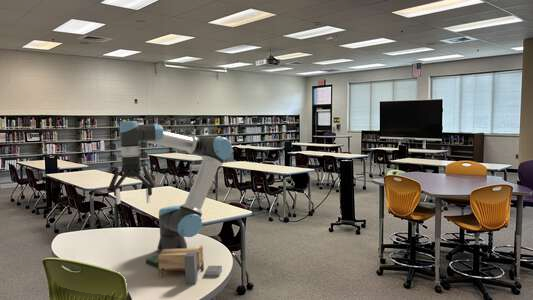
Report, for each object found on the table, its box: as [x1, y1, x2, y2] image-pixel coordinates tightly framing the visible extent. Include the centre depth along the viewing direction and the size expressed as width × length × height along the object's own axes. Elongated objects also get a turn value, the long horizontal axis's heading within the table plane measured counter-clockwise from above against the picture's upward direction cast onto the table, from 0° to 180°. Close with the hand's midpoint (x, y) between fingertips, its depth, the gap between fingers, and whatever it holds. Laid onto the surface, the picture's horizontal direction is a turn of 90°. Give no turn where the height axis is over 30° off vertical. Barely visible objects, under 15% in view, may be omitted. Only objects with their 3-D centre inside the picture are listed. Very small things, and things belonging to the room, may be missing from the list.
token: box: [204, 265, 223, 278], centre depth 172 cm, size 6×6×3 cm
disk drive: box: [145, 254, 164, 270], centre depth 186 cm, size 10×3×15 cm
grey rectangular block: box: [184, 253, 202, 285], centre depth 167 cm, size 13×4×12 cm, turn 178°
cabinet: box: [157, 245, 205, 279], centre depth 173 cm, size 8×18×11 cm, turn 88°
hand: (133, 203), depth 174 cm, fingers open, 13 cm apart
